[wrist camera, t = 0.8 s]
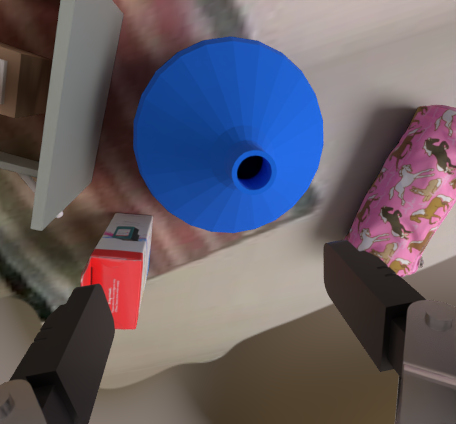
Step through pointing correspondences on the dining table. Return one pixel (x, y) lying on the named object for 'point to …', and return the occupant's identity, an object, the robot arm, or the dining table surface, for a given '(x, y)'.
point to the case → (72, 107)
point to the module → (23, 82)
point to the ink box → (122, 266)
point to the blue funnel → (228, 134)
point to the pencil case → (410, 192)
